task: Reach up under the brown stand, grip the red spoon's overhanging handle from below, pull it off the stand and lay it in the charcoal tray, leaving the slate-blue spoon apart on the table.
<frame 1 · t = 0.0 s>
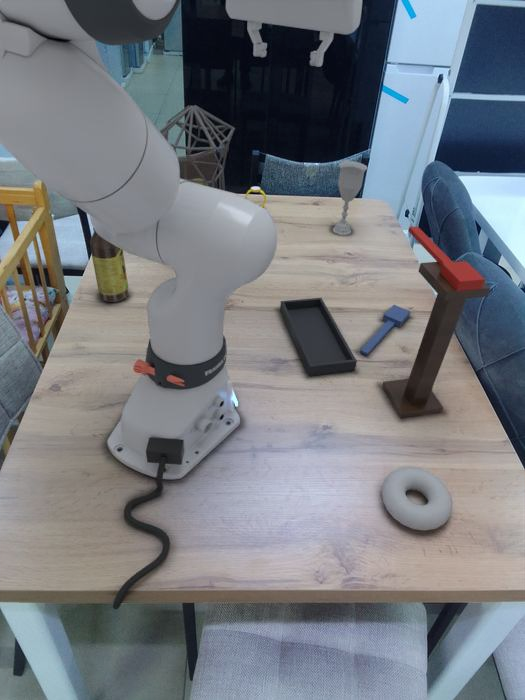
hand: (287, 61, 77), 48 cm above the table, tool pointing down, fingers open, 8 cm apart
geometric lantern: (197, 259, 124), on the table
cork: (199, 219, 141), on the table
chalice: (341, 231, 141), on the table
brown stand: (410, 399, 91), on the table
sauce bottle: (114, 296, 110), on the table
donut: (413, 504, 74), on the table
gold gemstone ring: (255, 208, 149), on the table
red spoon: (441, 261, 77), point 26 cm above the table, touching brown stand
blue spoon: (384, 330, 106), on the table
tray: (314, 338, 103), on the table
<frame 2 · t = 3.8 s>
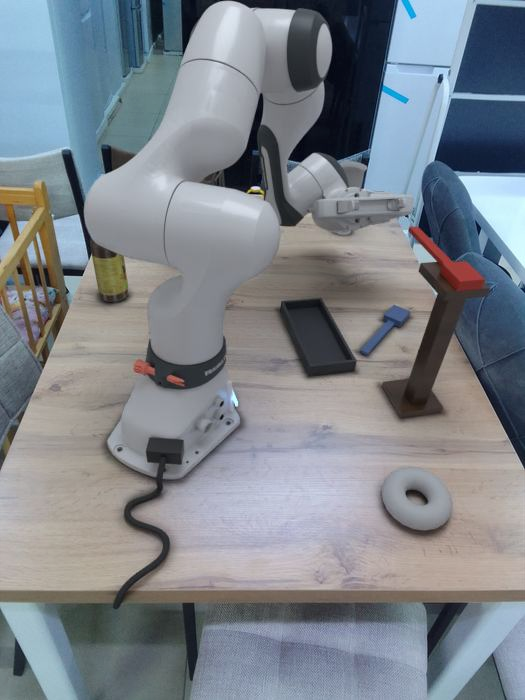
hand: (379, 204, 95), 25 cm above the table, tool pointing upward, fingers open, 8 cm apart
nothing on the table moved.
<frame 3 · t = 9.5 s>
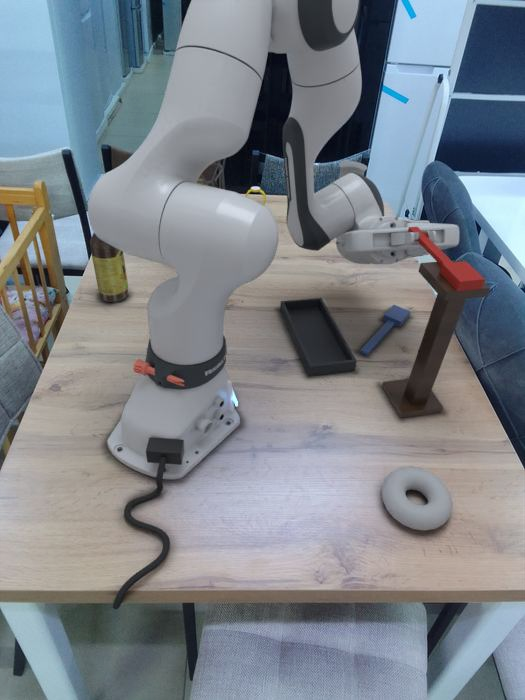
hand: (423, 237, 81), 27 cm above the table, tool pointing upward, fingers closed on red spoon, 2 cm apart
red spoon: (441, 261, 77), point 26 cm above the table, touching gripper, brown stand
everything else where it was.
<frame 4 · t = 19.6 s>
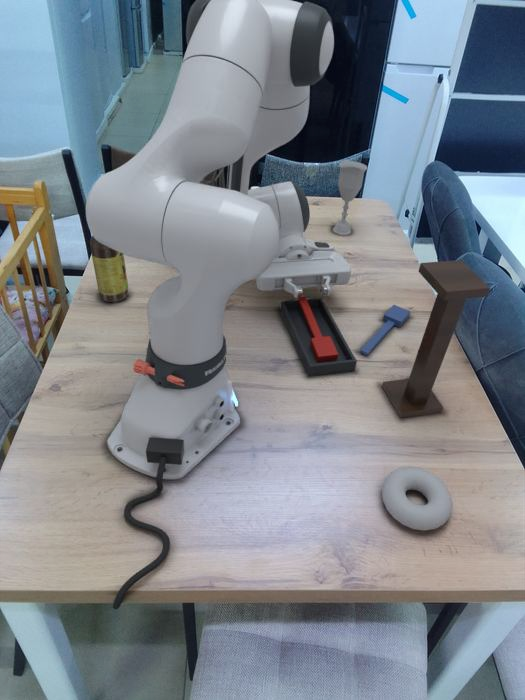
hand: (313, 293, 101), 8 cm above the table, tool horizontal, fingers open, 4 cm apart
red spoon: (315, 332, 102), point 1 cm above the table, tilted 6°, touching tray
everything else where it was.
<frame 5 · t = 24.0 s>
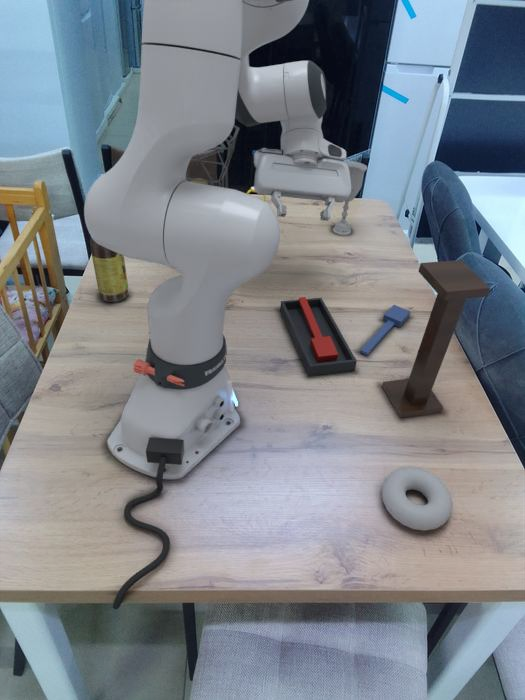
hand: (303, 217, 103), 19 cm above the table, tool tilted 45°, fingers open, 8 cm apart
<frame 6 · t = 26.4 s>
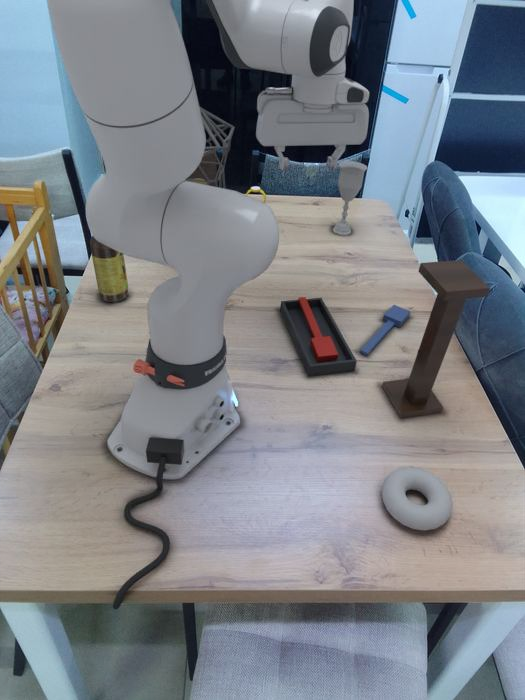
hand: (307, 168, 95), 29 cm above the table, tool pointing down, fingers open, 8 cm apart
at the end: red spoon inside the target area in the tray (0.4 cm from its centre), point 1.4 cm above the tray's base; red spoon tilted 6°; blue spoon moved 0.0 cm from its start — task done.
